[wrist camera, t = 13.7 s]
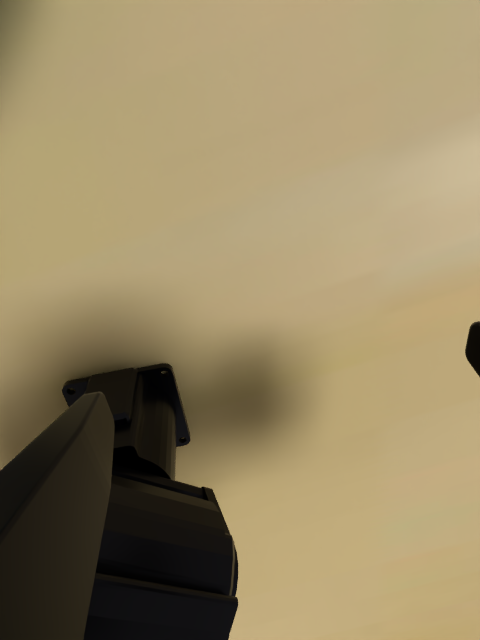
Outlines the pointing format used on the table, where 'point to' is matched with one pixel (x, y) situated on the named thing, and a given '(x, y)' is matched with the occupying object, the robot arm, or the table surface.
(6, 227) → the table surface
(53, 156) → the table surface
